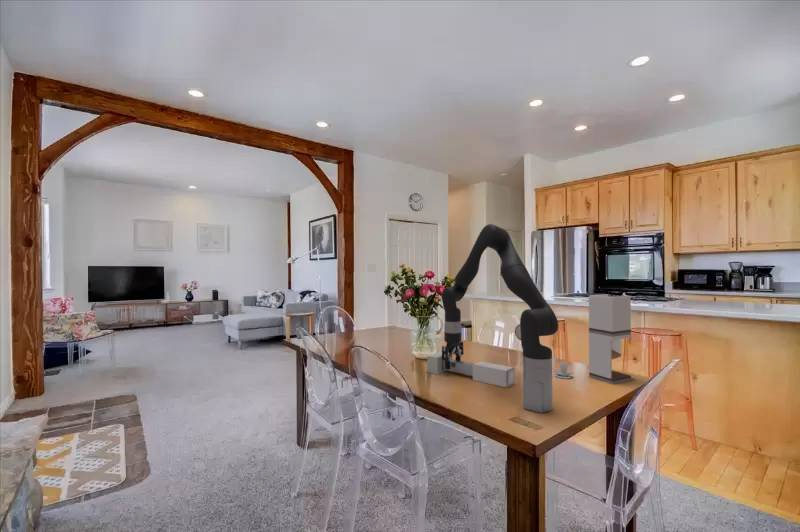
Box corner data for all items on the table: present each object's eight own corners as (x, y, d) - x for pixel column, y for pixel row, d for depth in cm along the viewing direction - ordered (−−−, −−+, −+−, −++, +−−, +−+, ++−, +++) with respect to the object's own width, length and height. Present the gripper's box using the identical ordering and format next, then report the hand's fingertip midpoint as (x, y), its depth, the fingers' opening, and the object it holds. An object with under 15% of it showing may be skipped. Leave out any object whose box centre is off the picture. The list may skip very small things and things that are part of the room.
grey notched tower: (612, 384, 146) (612, 297, 146) (589, 377, 156) (588, 295, 156) (630, 380, 151) (630, 296, 151) (606, 373, 161) (606, 294, 161)
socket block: (437, 374, 161) (437, 357, 161) (427, 371, 165) (427, 355, 165) (452, 368, 170) (452, 352, 170) (442, 366, 174) (442, 351, 174)
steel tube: (486, 378, 150) (486, 368, 150) (434, 367, 167) (434, 358, 167) (490, 376, 153) (490, 366, 153) (439, 365, 170) (439, 356, 170)
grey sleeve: (507, 387, 143) (507, 371, 143) (472, 379, 153) (472, 364, 153) (514, 383, 148) (514, 367, 148) (479, 376, 158) (479, 361, 158)
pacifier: (571, 380, 152) (573, 376, 157) (571, 365, 152) (573, 362, 157) (552, 377, 156) (555, 373, 161) (552, 363, 156) (555, 359, 161)
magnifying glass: (533, 365, 174) (533, 323, 174) (533, 366, 172) (532, 324, 172) (515, 363, 178) (515, 322, 178) (514, 364, 177) (514, 322, 177)
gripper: (451, 334, 155) (451, 372, 155) (468, 329, 166) (468, 365, 166) (436, 332, 160) (436, 369, 160) (454, 327, 171) (454, 362, 171)
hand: (453, 367), depth 163 cm, fingers open, 8 cm apart
